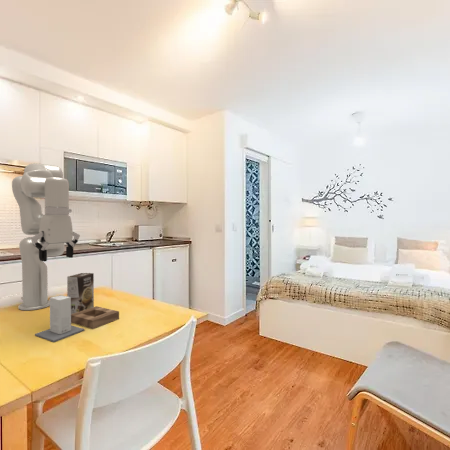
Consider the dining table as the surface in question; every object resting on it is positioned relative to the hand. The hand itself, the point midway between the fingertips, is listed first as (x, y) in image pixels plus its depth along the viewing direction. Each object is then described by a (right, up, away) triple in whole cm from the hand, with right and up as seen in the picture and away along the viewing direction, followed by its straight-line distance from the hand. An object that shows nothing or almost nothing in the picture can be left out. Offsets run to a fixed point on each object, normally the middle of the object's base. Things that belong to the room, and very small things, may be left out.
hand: (56, 259), depth 105 cm
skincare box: (+3, -25, -3) cm, 26 cm away
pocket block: (+10, -25, +9) cm, 28 cm away
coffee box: (-1, -25, +19) cm, 31 cm away
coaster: (+3, -26, -4) cm, 26 cm away
